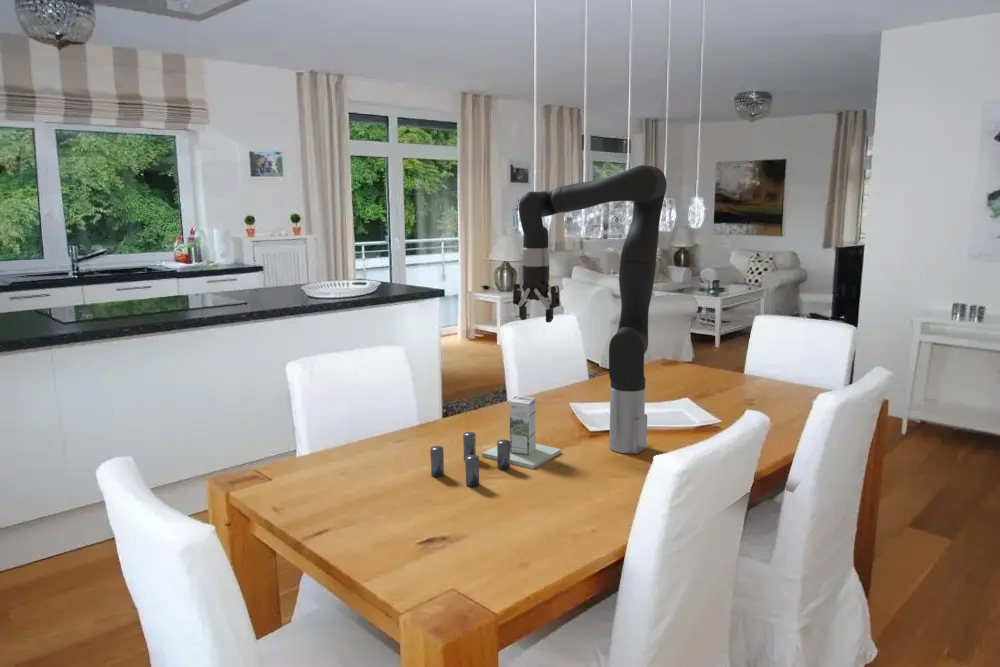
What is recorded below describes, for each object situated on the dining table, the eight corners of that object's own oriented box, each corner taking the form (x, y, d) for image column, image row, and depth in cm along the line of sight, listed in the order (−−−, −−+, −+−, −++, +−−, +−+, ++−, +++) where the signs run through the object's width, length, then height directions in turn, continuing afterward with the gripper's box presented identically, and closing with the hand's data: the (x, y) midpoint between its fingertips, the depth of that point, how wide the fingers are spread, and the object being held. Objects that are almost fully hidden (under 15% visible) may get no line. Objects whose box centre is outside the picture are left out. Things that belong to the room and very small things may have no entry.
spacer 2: (478, 458, 185) (477, 433, 184) (470, 462, 183) (470, 436, 182) (468, 456, 187) (468, 431, 186) (461, 459, 185) (460, 434, 183)
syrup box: (536, 448, 189) (536, 396, 187) (529, 456, 184) (529, 402, 181) (516, 446, 191) (516, 394, 189) (509, 453, 186) (508, 400, 183)
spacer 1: (446, 474, 175) (446, 447, 174) (438, 478, 172) (437, 451, 171) (436, 471, 177) (436, 445, 176) (428, 475, 174) (427, 448, 173)
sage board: (561, 452, 189) (561, 449, 189) (532, 468, 178) (532, 465, 178) (512, 441, 198) (512, 438, 198) (482, 456, 187) (482, 452, 187)
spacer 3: (481, 484, 169) (481, 456, 167) (473, 488, 166) (473, 460, 165) (471, 481, 171) (470, 453, 169) (463, 485, 168) (462, 457, 167)
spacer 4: (512, 467, 179) (512, 441, 178) (505, 471, 177) (505, 444, 175) (502, 464, 181) (502, 438, 180) (495, 468, 178) (494, 442, 177)
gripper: (564, 264, 196) (564, 321, 199) (522, 262, 204) (522, 316, 207) (550, 266, 190) (550, 325, 193) (507, 264, 198) (508, 320, 201)
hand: (535, 320), depth 200 cm, fingers open, 8 cm apart
